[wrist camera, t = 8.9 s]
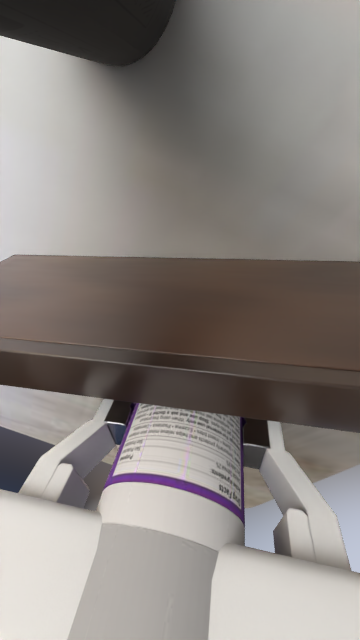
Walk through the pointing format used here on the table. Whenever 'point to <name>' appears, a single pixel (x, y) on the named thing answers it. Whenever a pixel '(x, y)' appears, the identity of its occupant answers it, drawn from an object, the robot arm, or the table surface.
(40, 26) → the drinking cup
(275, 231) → the table surface
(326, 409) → the bar
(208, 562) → the container
